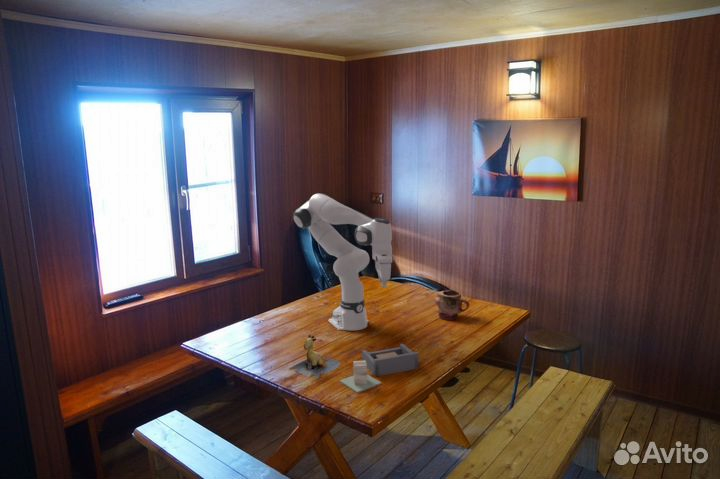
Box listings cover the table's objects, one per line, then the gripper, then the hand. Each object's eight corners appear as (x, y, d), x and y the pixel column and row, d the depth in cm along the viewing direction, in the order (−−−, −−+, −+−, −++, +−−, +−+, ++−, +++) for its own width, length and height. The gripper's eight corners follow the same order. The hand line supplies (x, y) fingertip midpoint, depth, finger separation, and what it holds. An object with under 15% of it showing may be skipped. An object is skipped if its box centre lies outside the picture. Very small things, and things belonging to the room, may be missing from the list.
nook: (362, 361, 233) (362, 346, 232) (403, 353, 239) (403, 339, 238) (375, 376, 218) (375, 360, 217) (418, 368, 225) (418, 353, 223)
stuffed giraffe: (288, 369, 227) (288, 334, 224) (318, 356, 241) (318, 323, 237) (315, 381, 217) (315, 345, 214) (344, 367, 231) (345, 332, 227)
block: (353, 379, 215) (353, 361, 213) (365, 378, 216) (365, 360, 214) (354, 384, 211) (354, 366, 209) (367, 383, 211) (367, 365, 209)
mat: (339, 381, 215) (339, 380, 215) (363, 373, 222) (363, 371, 221) (357, 393, 205) (357, 391, 205) (381, 383, 212) (381, 382, 212)
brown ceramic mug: (473, 317, 283) (473, 292, 280) (465, 324, 272) (466, 299, 269) (437, 311, 292) (438, 287, 289) (429, 318, 282) (429, 293, 279)
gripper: (372, 249, 246) (372, 278, 248) (378, 260, 226) (379, 291, 229) (385, 248, 246) (385, 277, 249) (393, 259, 226) (393, 290, 229)
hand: (382, 284), depth 239 cm, fingers open, 8 cm apart
